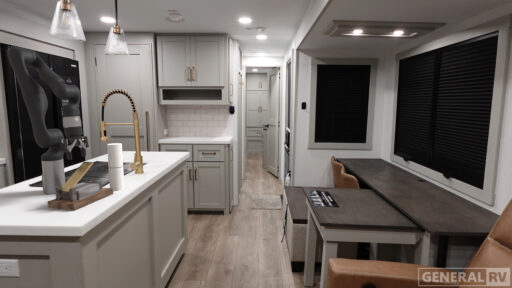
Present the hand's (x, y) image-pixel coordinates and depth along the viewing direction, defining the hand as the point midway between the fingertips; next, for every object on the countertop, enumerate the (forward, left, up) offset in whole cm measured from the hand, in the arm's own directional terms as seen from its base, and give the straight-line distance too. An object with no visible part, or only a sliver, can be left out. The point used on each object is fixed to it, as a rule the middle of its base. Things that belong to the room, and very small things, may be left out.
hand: (77, 158), depth 141 cm
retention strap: (+8, -9, -7) cm, 14 cm away
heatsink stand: (+8, -7, -19) cm, 22 cm away
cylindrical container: (+11, +13, -19) cm, 26 cm away
